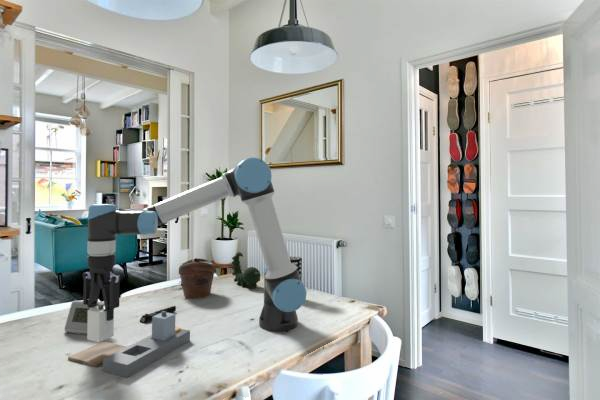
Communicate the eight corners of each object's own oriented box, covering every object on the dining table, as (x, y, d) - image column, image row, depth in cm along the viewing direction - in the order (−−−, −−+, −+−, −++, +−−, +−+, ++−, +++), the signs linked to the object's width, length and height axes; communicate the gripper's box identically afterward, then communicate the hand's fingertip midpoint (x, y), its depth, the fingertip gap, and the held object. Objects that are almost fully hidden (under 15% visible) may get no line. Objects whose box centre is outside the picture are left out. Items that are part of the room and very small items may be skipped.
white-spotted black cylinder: (304, 298, 168) (305, 257, 168) (295, 303, 161) (295, 260, 161) (290, 295, 172) (290, 256, 172) (280, 299, 165) (281, 258, 165)
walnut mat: (131, 350, 110) (131, 347, 110) (97, 367, 98) (97, 364, 98) (103, 343, 114) (103, 341, 114) (68, 359, 103) (68, 356, 103)
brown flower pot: (198, 287, 185) (198, 254, 185) (224, 294, 174) (224, 258, 173) (169, 295, 171) (169, 259, 170) (194, 303, 159) (194, 264, 159)
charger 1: (113, 336, 108) (113, 303, 107) (99, 342, 103) (99, 308, 103) (101, 333, 109) (102, 301, 109) (87, 339, 105) (87, 306, 105)
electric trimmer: (178, 313, 145) (178, 306, 145) (144, 324, 132) (145, 316, 132) (172, 312, 147) (172, 304, 147) (138, 322, 134) (139, 314, 134)
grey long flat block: (189, 340, 117) (190, 328, 117) (127, 377, 93) (127, 362, 93) (168, 336, 121) (169, 324, 121) (102, 371, 96) (103, 356, 96)
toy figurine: (228, 285, 196) (253, 291, 177) (227, 252, 197) (251, 254, 178) (242, 283, 202) (267, 288, 184) (241, 250, 203) (266, 252, 185)
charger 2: (175, 341, 113) (175, 310, 113) (164, 347, 109) (164, 315, 109) (163, 338, 115) (163, 308, 115) (151, 344, 111) (152, 312, 110)
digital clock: (61, 332, 122) (61, 303, 122) (85, 324, 131) (85, 296, 131) (93, 340, 117) (94, 309, 116) (116, 330, 125) (116, 301, 125)
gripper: (133, 254, 106) (132, 329, 106) (91, 250, 113) (91, 320, 113) (112, 258, 99) (111, 338, 99) (69, 253, 106) (68, 328, 106)
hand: (100, 328), depth 106 cm, fingers closed on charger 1, 5 cm apart
